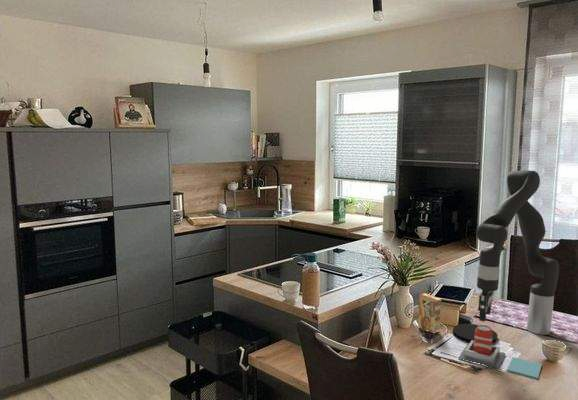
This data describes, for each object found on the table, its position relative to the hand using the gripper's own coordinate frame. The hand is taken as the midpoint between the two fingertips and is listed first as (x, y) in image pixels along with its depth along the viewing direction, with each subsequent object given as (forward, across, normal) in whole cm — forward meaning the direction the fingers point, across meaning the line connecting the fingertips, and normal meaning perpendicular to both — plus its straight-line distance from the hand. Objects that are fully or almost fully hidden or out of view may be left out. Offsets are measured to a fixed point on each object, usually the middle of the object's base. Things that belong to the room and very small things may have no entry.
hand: (484, 317), depth 181 cm
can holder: (+16, 0, 0) cm, 16 cm away
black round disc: (+17, -19, -7) cm, 26 cm away
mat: (+16, 0, +15) cm, 22 cm away
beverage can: (+16, 0, 0) cm, 16 cm away
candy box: (+16, -13, -25) cm, 33 cm away
